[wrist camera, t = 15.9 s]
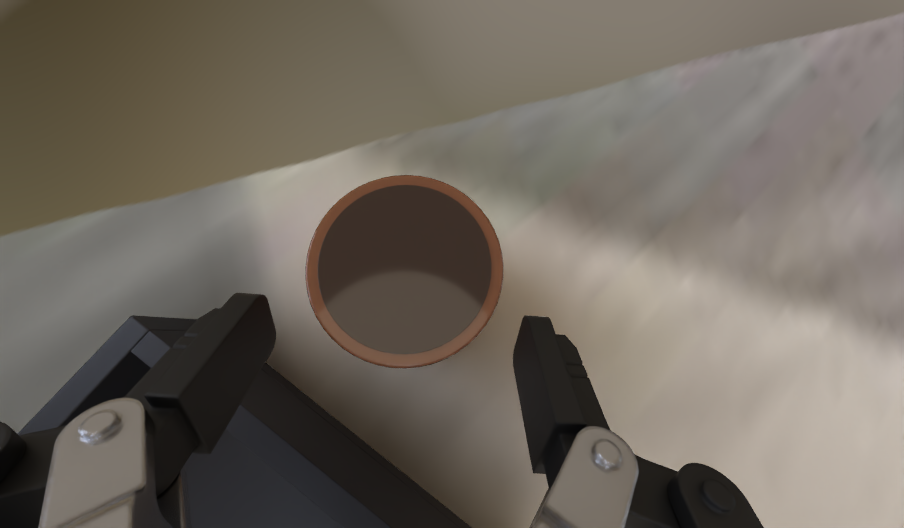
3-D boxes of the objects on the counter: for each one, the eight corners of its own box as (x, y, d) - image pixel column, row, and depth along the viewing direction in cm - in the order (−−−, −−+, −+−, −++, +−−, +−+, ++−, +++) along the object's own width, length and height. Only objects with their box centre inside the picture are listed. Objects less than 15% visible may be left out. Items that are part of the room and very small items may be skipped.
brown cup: (341, 308, 19) (259, 284, 10) (408, 226, 20) (390, 138, 11) (427, 375, 18) (424, 414, 9) (491, 287, 19) (541, 247, 10)
